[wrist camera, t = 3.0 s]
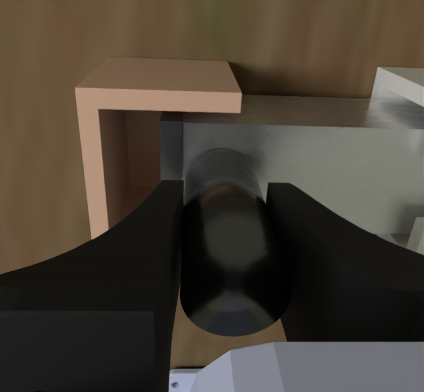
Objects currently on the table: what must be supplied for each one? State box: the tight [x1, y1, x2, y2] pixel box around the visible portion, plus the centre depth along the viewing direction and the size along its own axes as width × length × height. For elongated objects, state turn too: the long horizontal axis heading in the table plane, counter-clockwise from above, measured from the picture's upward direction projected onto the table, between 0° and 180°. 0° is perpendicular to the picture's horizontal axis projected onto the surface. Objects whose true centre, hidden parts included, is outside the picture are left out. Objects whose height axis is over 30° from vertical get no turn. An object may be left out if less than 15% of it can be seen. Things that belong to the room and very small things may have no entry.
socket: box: [75, 57, 242, 239], centre depth 16 cm, size 6×5×6 cm
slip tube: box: [160, 95, 424, 336], centre depth 13 cm, size 4×12×10 cm, turn 87°
